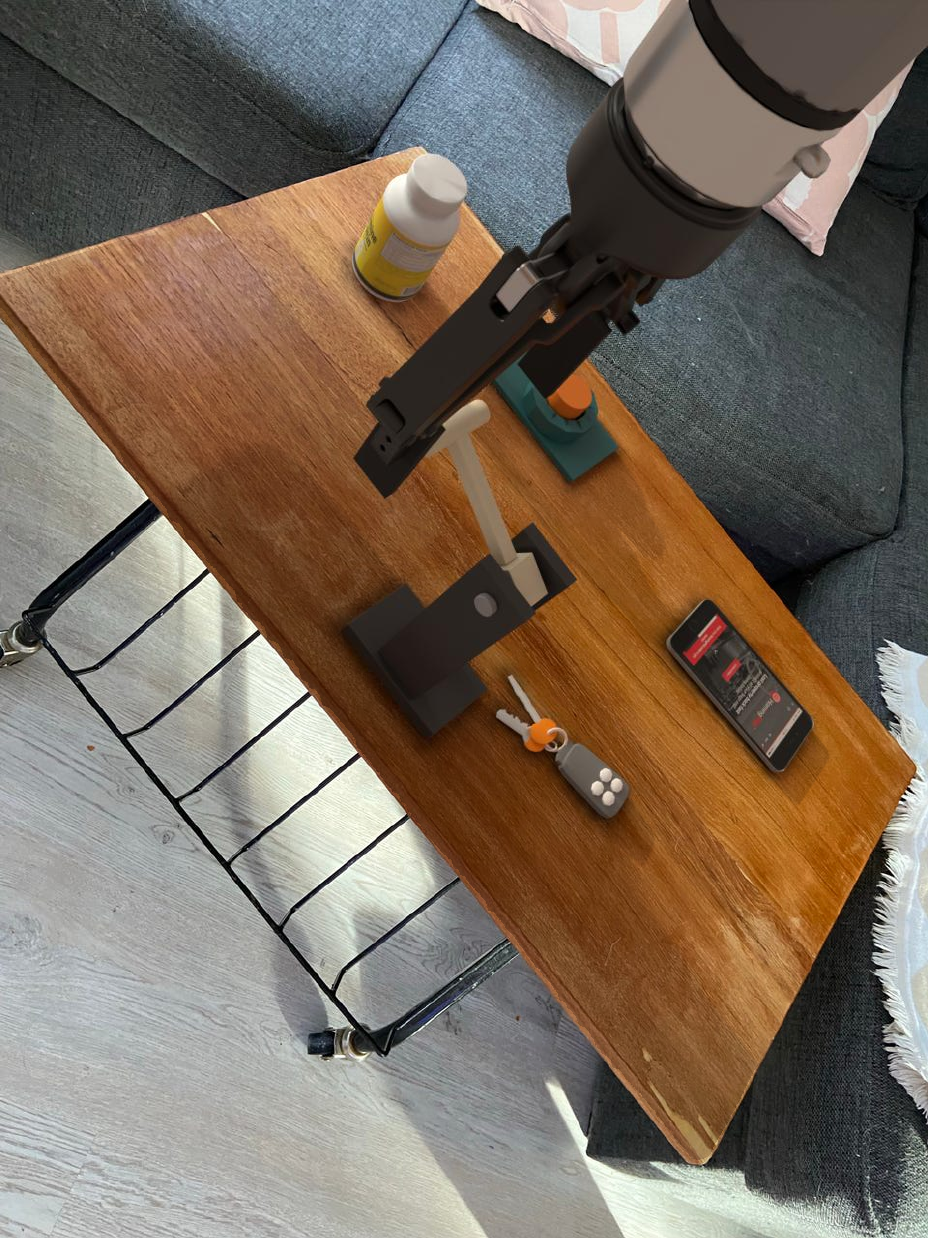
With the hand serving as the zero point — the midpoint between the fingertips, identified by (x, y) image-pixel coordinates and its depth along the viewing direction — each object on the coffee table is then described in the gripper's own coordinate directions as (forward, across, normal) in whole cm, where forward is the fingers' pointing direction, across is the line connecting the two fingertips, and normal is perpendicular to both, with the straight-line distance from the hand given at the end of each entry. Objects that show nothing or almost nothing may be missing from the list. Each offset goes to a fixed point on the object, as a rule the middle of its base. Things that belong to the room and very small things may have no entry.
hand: (459, 424), depth 55 cm
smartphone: (+21, +24, -28) cm, 43 cm away
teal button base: (+21, +27, +1) cm, 34 cm away
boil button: (+19, +27, +1) cm, 33 cm away
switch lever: (+4, 0, -4) cm, 6 cm away
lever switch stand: (+21, 0, -9) cm, 23 cm away
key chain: (+21, +6, -21) cm, 30 cm away
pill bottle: (+21, +22, +19) cm, 36 cm away
